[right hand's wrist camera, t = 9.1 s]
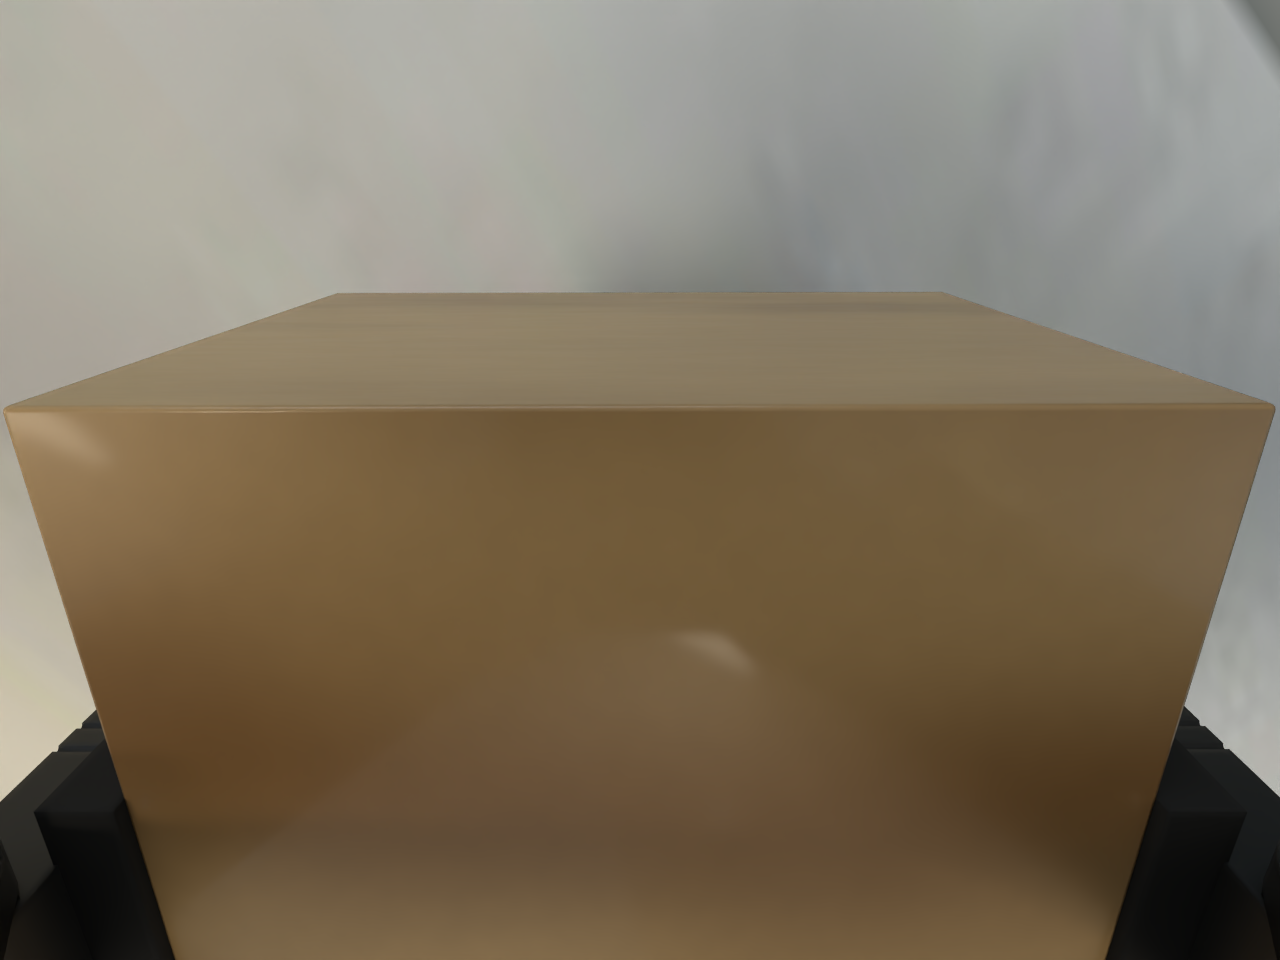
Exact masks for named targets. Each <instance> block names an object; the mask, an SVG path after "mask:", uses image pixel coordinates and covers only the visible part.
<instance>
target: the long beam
mask: <svg viewBox="0 0 1280 960" xmlns="http://www.w3.org/2000/svg"><path fill="white" fill-rule="evenodd" d="M1274 413H1275V406H1274V405H1273V404H1271V403H1268V402H1265V401H1262V400H1259V399H1256V398H1253V397H1250V396H1248V395H1245V394H1242V393H1239V392H1236V391H1233V390H1230V389H1227V388H1224V387H1221V386H1218V385H1215V384H1212V383H1209V382H1206V381H1203V380H1200V379H1197V378H1194V377H1191V376H1188V375H1185V374H1183V373H1180V372H1177V371H1174V370H1171V369H1168V368H1165V367H1162V366H1159V365H1156V364H1153V363H1150V362H1147V361H1144V360H1141V359H1138V358H1135V357H1132V356H1129V355H1126V354H1123V353H1120V352H1118V351H1115V350H1112V349H1109V348H1106V347H1103V346H1100V345H1097V344H1094V343H1091V342H1088V341H1085V340H1082V339H1079V338H1076V337H1073V336H1070V335H1067V334H1064V333H1061V332H1058V331H1055V330H1053V329H1050V328H1047V327H1044V326H1041V325H1038V324H1035V323H1032V322H1029V321H1026V320H1023V319H1020V318H1017V317H1014V316H1011V315H1008V314H1005V313H1002V312H999V311H996V310H993V309H990V308H988V307H985V306H982V305H979V304H976V303H973V302H970V301H967V300H964V299H961V298H958V297H955V296H952V295H949V294H946V293H943V292H697V293H337V294H334V295H331V296H328V297H325V298H322V299H319V300H316V301H313V302H310V303H307V304H304V305H302V306H299V307H296V308H293V309H290V310H287V311H284V312H281V313H278V314H275V315H272V316H269V317H266V318H263V319H261V320H258V321H255V322H252V323H249V324H246V325H243V326H240V327H237V328H234V329H231V330H228V331H225V332H223V333H220V334H217V335H214V336H211V337H208V338H205V339H202V340H199V341H196V342H193V343H190V344H187V345H184V346H182V347H179V348H176V349H173V350H170V351H167V352H164V353H161V354H158V355H155V356H152V357H149V358H146V359H143V360H141V361H138V362H135V363H132V364H129V365H126V366H123V367H120V368H117V369H114V370H111V371H108V372H105V373H103V374H100V375H97V376H94V377H91V378H88V379H85V380H82V381H79V382H76V383H73V384H70V385H67V386H64V387H62V388H59V389H56V390H53V391H50V392H47V393H44V394H41V395H38V396H35V397H32V398H29V399H26V400H24V401H21V402H18V403H15V404H12V405H9V406H7V407H5V408H4V410H3V414H4V417H5V420H6V423H7V426H8V430H9V433H10V436H11V439H12V442H13V445H14V449H15V452H16V455H17V458H18V461H19V465H20V468H21V471H22V474H23V477H24V480H25V484H26V487H27V490H28V493H29V496H30V500H31V503H32V506H33V509H34V512H35V515H36V519H37V522H38V525H39V528H40V531H41V535H42V538H43V541H44V544H45V547H46V551H47V554H48V557H49V560H50V563H51V566H52V570H53V573H54V576H55V579H56V582H57V586H58V589H59V592H60V595H61V598H62V601H63V605H64V608H65V611H66V614H67V617H68V621H69V624H70V627H71V630H72V633H73V636H74V640H75V643H76V646H77V649H78V652H79V656H80V659H81V662H82V665H83V668H84V672H85V675H86V678H87V681H88V684H89V687H90V691H91V694H92V697H93V700H94V703H95V707H96V710H97V713H98V716H99V719H100V722H101V726H102V729H103V732H104V735H105V738H106V742H107V745H108V748H109V751H110V754H111V757H112V761H113V764H114V767H115V770H116V773H117V777H118V780H119V783H120V786H121V789H122V793H123V796H124V799H125V802H126V805H127V808H128V812H129V815H130V818H131V821H132V824H133V828H134V831H135V834H136V837H137V840H138V843H139V847H140V850H141V853H142V856H143V859H144V863H145V866H146V869H147V872H148V875H149V878H150V882H151V885H152V888H153V891H154V894H155V898H156V901H157V904H158V907H159V910H160V914H161V917H162V920H163V923H164V926H165V929H166V933H167V936H168V939H169V942H170V945H171V949H172V952H173V955H174V958H175V960H1106V957H1107V954H1108V951H1109V947H1110V944H1111V941H1112V938H1113V934H1114V931H1115V928H1116V925H1117V922H1118V918H1119V915H1120V912H1121V909H1122V905H1123V902H1124V899H1125V896H1126V892H1127V889H1128V886H1129V883H1130V879H1131V876H1132V873H1133V870H1134V866H1135V863H1136V860H1137V857H1138V853H1139V850H1140V847H1141V844H1142V841H1143V837H1144V834H1145V831H1146V828H1147V824H1148V821H1149V818H1150V815H1151V811H1152V808H1153V805H1154V802H1155V798H1156V795H1157V792H1158V789H1159V785H1160V782H1161V779H1162V776H1163V773H1164V769H1165V766H1166V763H1167V760H1168V756H1169V753H1170V750H1171V747H1172V743H1173V740H1174V737H1175V734H1176V730H1177V727H1178V724H1179V721H1180V717H1181V714H1182V711H1183V708H1184V705H1185V701H1186V698H1187V695H1188V692H1189V688H1190V685H1191V682H1192V679H1193V675H1194V672H1195V669H1196V666H1197V662H1198V659H1199V656H1200V653H1201V649H1202V646H1203V643H1204V640H1205V636H1206V633H1207V630H1208V627H1209V624H1210V620H1211V617H1212V614H1213V611H1214V607H1215V604H1216V601H1217V598H1218V594H1219V591H1220V588H1221V585H1222V581H1223V578H1224V575H1225V572H1226V568H1227V565H1228V562H1229V559H1230V556H1231V552H1232V549H1233V546H1234V543H1235V539H1236V536H1237V533H1238V530H1239V526H1240V523H1241V520H1242V517H1243V513H1244V510H1245V507H1246V504H1247V500H1248V497H1249V494H1250V491H1251V488H1252V484H1253V481H1254V478H1255V475H1256V471H1257V468H1258V465H1259V462H1260V458H1261V455H1262V452H1263V449H1264V445H1265V442H1266V439H1267V436H1268V432H1269V429H1270V426H1271V423H1272V420H1273V416H1274Z"/></svg>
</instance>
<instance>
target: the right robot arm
mask: <svg viewBox="0 0 1280 960" xmlns="http://www.w3.org/2000/svg"><path fill="white" fill-rule="evenodd" d="M0 960H175V958H174V955H173V952H172V949H171V945H170V942H169V939H168V936H167V933H166V929H165V926H164V923H163V920H162V917H161V914H160V910H159V907H158V904H157V901H156V898H155V894H154V891H153V888H152V885H151V882H150V878H149V875H148V872H147V869H146V866H145V863H144V859H143V856H142V853H141V850H140V847H139V843H138V840H137V837H136V834H135V831H134V828H133V824H132V821H131V818H130V815H129V812H128V808H127V805H126V802H125V799H124V796H123V793H122V789H121V786H120V783H119V780H118V777H117V773H116V770H115V767H114V764H113V761H112V757H111V754H110V751H109V748H108V745H107V742H106V738H105V735H104V732H103V729H102V726H101V722H100V719H99V716H98V713H97V710H95V711H94V712H93V713H92V714H91V715H90V716H89V717H88V718H87V719H86V720H85V721H84V722H83V723H82V728H81V729H76V730H75V731H74V732H73V733H71V734H70V735H69V736H68V737H67V738H66V739H65V740H64V741H63V742H62V743H61V744H60V745H59V749H58V751H57V752H52V753H51V754H50V755H49V756H48V757H47V758H45V759H44V760H43V761H42V762H41V763H40V764H39V765H38V766H37V767H36V768H35V769H34V770H33V771H32V772H31V773H30V774H29V775H28V776H27V777H26V778H25V779H24V780H23V781H22V782H21V783H19V784H18V785H17V786H16V787H15V788H14V789H13V790H12V791H11V792H10V793H9V794H8V795H7V796H6V797H5V798H4V799H3V800H2V801H1V802H0ZM1106 960H1280V797H1279V796H1278V795H1277V794H1276V793H1275V792H1274V791H1273V790H1271V789H1270V788H1269V787H1268V786H1267V785H1266V784H1265V783H1264V782H1263V781H1262V780H1261V779H1260V778H1259V777H1258V776H1257V775H1256V774H1255V773H1254V772H1253V771H1252V770H1251V769H1249V768H1248V767H1247V766H1246V765H1245V764H1244V763H1243V762H1242V761H1241V760H1240V759H1239V758H1238V757H1237V756H1236V755H1235V754H1234V753H1233V752H1232V751H1231V750H1230V749H1224V747H1223V743H1222V742H1221V741H1220V740H1219V739H1218V738H1217V737H1216V736H1215V735H1214V734H1213V733H1212V732H1211V731H1210V730H1209V729H1208V728H1207V727H1205V726H1200V724H1199V720H1198V719H1197V718H1196V717H1195V716H1194V715H1193V714H1192V713H1191V712H1190V711H1189V710H1188V709H1187V708H1186V707H1185V706H1184V708H1183V711H1182V714H1181V717H1180V721H1179V724H1178V727H1177V730H1176V734H1175V737H1174V740H1173V743H1172V747H1171V750H1170V753H1169V756H1168V760H1167V763H1166V766H1165V769H1164V773H1163V776H1162V779H1161V782H1160V785H1159V789H1158V792H1157V795H1156V798H1155V802H1154V805H1153V808H1152V811H1151V815H1150V818H1149V821H1148V824H1147V828H1146V831H1145V834H1144V837H1143V841H1142V844H1141V847H1140V850H1139V853H1138V857H1137V860H1136V863H1135V866H1134V870H1133V873H1132V876H1131V879H1130V883H1129V886H1128V889H1127V892H1126V896H1125V899H1124V902H1123V905H1122V909H1121V912H1120V915H1119V918H1118V922H1117V925H1116V928H1115V931H1114V934H1113V938H1112V941H1111V944H1110V947H1109V951H1108V954H1107V957H1106Z"/></svg>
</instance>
